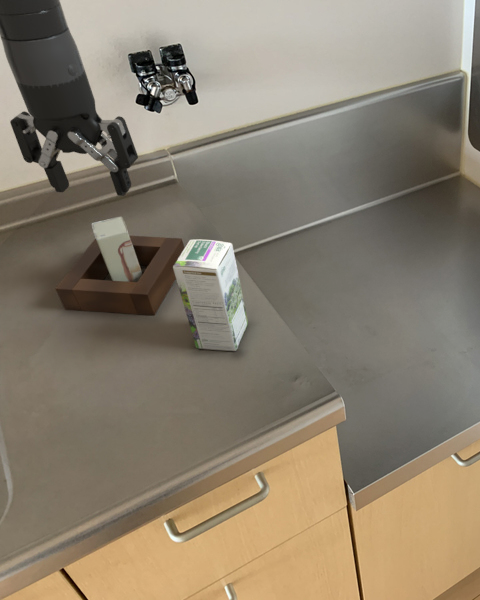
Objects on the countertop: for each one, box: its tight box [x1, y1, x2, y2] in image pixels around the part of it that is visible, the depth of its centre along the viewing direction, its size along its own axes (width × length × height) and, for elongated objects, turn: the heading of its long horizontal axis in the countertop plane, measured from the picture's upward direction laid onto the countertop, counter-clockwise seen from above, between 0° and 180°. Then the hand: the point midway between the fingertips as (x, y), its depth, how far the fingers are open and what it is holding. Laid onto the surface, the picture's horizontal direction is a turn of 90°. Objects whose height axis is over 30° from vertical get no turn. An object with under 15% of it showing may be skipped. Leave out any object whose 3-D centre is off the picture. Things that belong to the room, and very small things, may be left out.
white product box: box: [91, 216, 143, 282], centre depth 90 cm, size 5×4×10 cm
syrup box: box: [173, 238, 249, 352], centre depth 80 cm, size 6×6×14 cm
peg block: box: [54, 235, 185, 316], centre depth 92 cm, size 14×14×4 cm
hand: (93, 191), depth 82 cm, fingers open, 8 cm apart
